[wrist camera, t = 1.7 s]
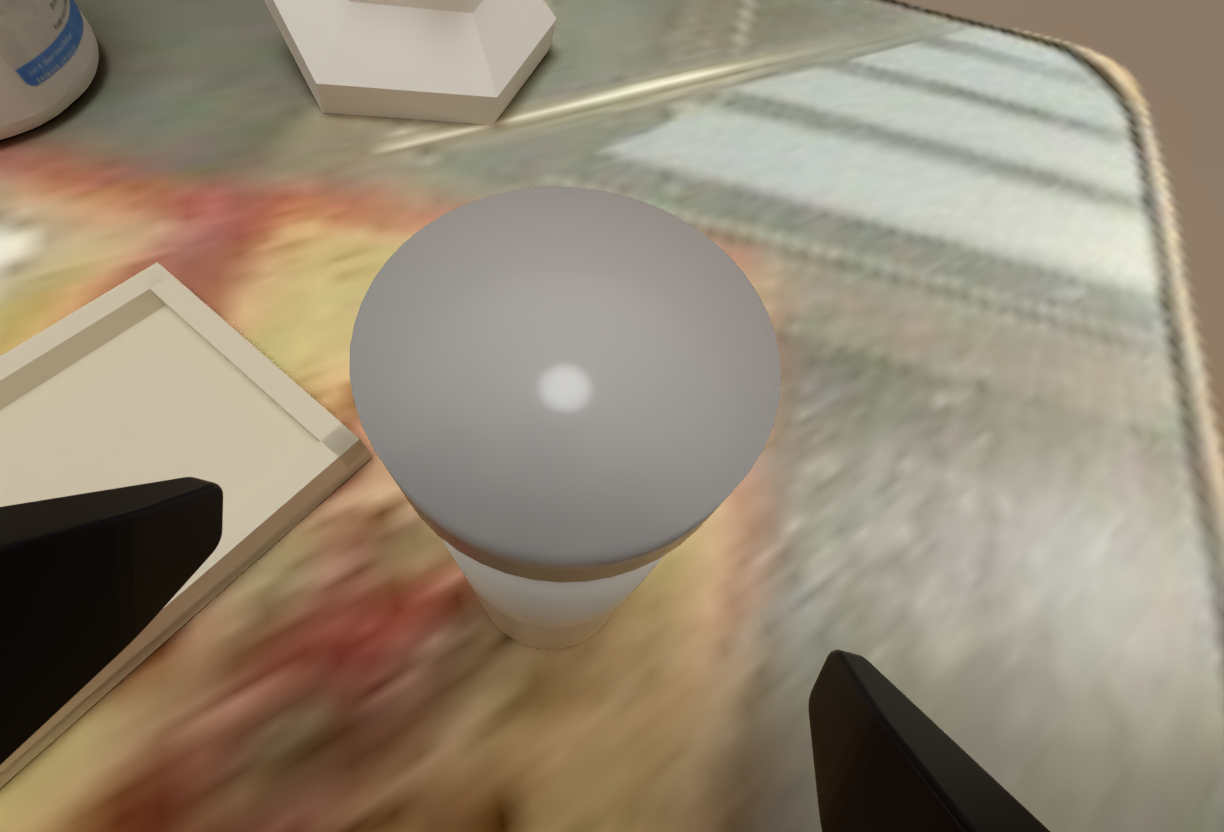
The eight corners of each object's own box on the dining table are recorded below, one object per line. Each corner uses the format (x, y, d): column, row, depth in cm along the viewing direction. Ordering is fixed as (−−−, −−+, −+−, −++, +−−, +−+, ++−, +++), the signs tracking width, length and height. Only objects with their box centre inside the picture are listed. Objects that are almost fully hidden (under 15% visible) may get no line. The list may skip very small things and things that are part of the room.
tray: (-13, 799, 14) (-70, 810, 13) (-214, 539, 16) (-282, 525, 15) (372, 457, 19) (359, 438, 18) (181, 289, 21) (157, 262, 20)
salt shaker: (560, 689, 17) (608, 666, 5) (441, 581, 18) (249, 352, 6) (657, 560, 19) (852, 331, 7) (545, 469, 20) (553, 134, 8)
